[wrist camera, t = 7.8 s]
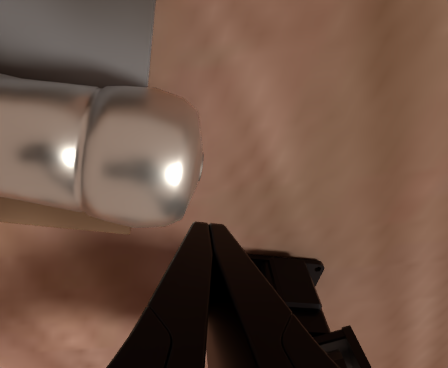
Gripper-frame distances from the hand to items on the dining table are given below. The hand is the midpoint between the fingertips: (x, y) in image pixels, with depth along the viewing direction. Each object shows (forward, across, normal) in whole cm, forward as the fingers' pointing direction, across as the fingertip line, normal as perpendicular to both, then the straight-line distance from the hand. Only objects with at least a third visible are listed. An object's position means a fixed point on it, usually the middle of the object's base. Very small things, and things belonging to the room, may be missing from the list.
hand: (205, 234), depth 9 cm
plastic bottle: (+7, -1, +2) cm, 7 cm away
